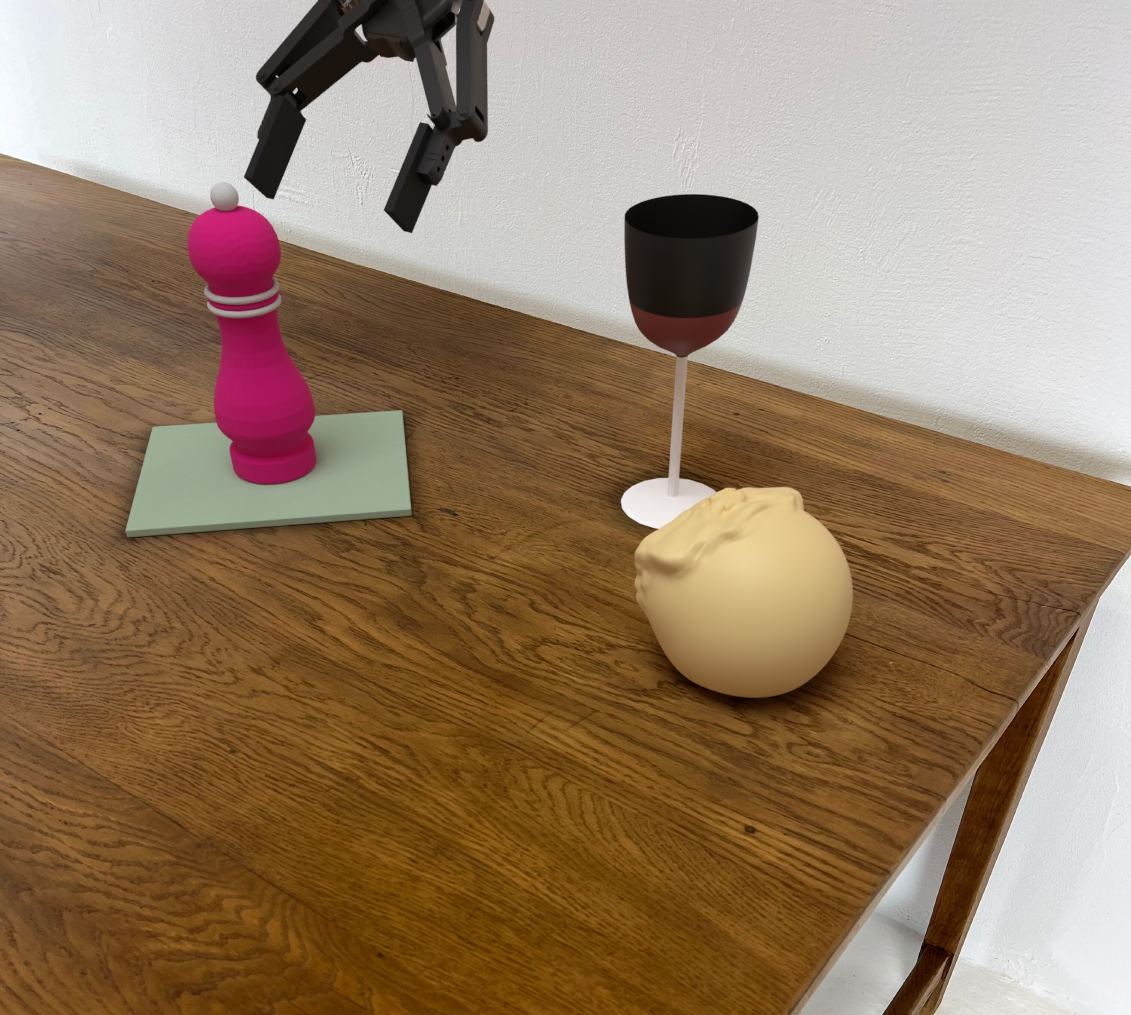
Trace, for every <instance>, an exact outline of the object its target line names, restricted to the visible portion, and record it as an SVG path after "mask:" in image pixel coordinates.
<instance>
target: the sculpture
mask: <svg viewBox="0 0 1131 1015" xmlns="http://www.w3.org/2000/svg"><path fill="white" fill-rule="evenodd" d="M633 557H634V558H633V559H634V567H635V571H636V576H635V579H634V583H633V585H634V589H635V591H636V593H635V594H636V595H635V600H636V603H637V604H638V606H639V608H640V609H641V610H642V611H643V613H644V614H645V616H646V617H647V620H648V622H649V625H650V627H651V629H652V632H653V634H654V636H655V637H656V640H657V642H658V644H659V646H660V647H661V649H662V651H663V653H664V655H665V656H666V658H667V659H668V660H669V662H670V663H671V664H672V666H674V667H675V669H676V670H677V671H678V672H679V673H680V674H681V675H682V676H684V677H685V678H686V679H688V680H689V681H690V682H692V683H694V684H696V685H698V686H700V687H701V688H702V687H703V688H705V689H707V690H710V691H713V692H716V693H720V694H724V695H728V696H731V697H732V696H734V697H739V698H750V699H751V698H755V699H756V698H758V699H759V698H770V697H776V696H779V695H783V694H787V693H789V692H792V691H794V690H796V689H799V688H800V687H801V686H804V685H805V684H806V683H807V682H809V681H810V680H811V679H813V678H814V677H815V676H816V675H818V673H820V671H821V670H822V669H823V668H824V667H825V666H826V665H827V664H828V663H829V662H830V660H831V659H832V657H833V656H834V655H835V653H836V651H837V650H838V648H839V647H840V645H841V643H842V641H843V639H844V637H845V634H846V632H847V629H848V626H849V623H850V621H851V616H852V611H853V602H854V587H853V579H852V573H851V569H850V566H849V563H848V560H847V557H846V555H845V553H844V550H843V549H842V547H841V546H840V544H839V542H838V540H837V539H836V538H835V537H834V535H833V534H832V533H831V532H830V530H829V529H828V528H827V527H826V526H825V525H824V524H823V523H821V522H820V521H819V520H818V519H817V518H816V517H814V516H812V515H811V514H810V513H808V512H806V511H805V507H804V499H803V496H802V494H801V492H800V491H798V490H797V489H794V488H792V487H788V486H776V487H751V486H749V487H748V486H747V487H742V488H739V489H736V488H734V487H725V488H723V489H720V490H719V491H716V493H715V494H713V495H711V496H710V497H709V498H706V499H703V500H701V501H700V502H699V503H696V504H695V505H693V506H692V507H691V508H689V509H688V510H685V511H683V512H682V513H681V514H679V515H678V516H677V517H676V518H675V519H674V520H672V521H671V522H669V523H668V524H666V525H664V526H663V527H661V528H659V529H656V530H654V531H652V532H651V533H649V534H648V535H647V536H645V537H644V538H643V539H642V540H641V541H640V543H639V545H638V546H637V548H636V549H635V551H634V556H633Z"/></svg>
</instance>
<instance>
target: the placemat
mask: <svg viewBox="0 0 1131 1015" xmlns="http://www.w3.org/2000/svg"><path fill="white" fill-rule="evenodd" d="M308 433H309V434H310V435H311V436H312V438H313V440H314V446H315V452H316V459H317V460H316V464H315V466H314V468H313V469H312V470H311V471H310V472H309V473H308V474H306V475H304V476H303V477H301V478H298V479H296V480H293V481H289V482H285V483H279V484H256V483H252V482H248V481H246V480H244V479H242V478H240V477H239V476H238V475H237V474H236V473H235V472H234V470H233V465H232V461H231V456H230V451H229V448H230V445H231V443H232V442H233V441H232V440H230V439H229V438H227V437H226V436H225V435H224V434H223V433H222V432H221V430H220V429H219V428H218V425H217V423H216V422H203V423H202V422H201V423H189V424H187V423H186V424H175V425H174V424H173V425H158V426H152V428H151V432H150V436H149V439H148V443H147V448H146V451H145V455H144V458H143V463H142V466H141V470H140V472H139V473H140V475H139V478H138V481H137V484H136V489H135V493H134V497H133V500H132V504H131V508H130V512H129V516H128V519H127V523H126V526H125V531H124V532H125V534H126V537H127V538H139V537H153V536H165V535H166V536H167V535H180V534H193V533H202V532H204V533H206V532H218V531H230V530H246V529H258V528H269V527H271V528H272V527H282V526H296V525H310V524H311V525H312V524H321V523H322V524H323V523H335V522H336V523H337V522H347V521H362V520H374V519H388V518H400V517H401V518H402V517H411V516H413V512H412V503H411V502H412V501H411V489H410V479H409V478H410V477H409V467H408V458H407V457H408V456H407V446H406V435H405V425H404V413H403V410H402V409H399V410H385V411H368V412H354V413H353V412H352V413H338V414H324V415H322V414H321V415H315V419H314V422H313V424H312V426H311V428H310V429H309V430H308Z"/></svg>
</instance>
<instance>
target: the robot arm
mask: <svg viewBox="0 0 1131 1015" xmlns="http://www.w3.org/2000/svg"><path fill="white" fill-rule="evenodd" d="M494 24H495V15H494V13H493V12H492V10H491V9H490V7H489V6H488V4H487V2H486V1H485V0H317V1H316V2H315V3H314V4H313V5H312V7H311V8H310V9H309V10H308V11H307V13H306V14H305V15H304V16H303V18H301V20H300V21H299V22H298V23H297V24H296V26H295V27H294V28H293V29H292V31H291V32H290V33H289V34H288V35H287V36H286V38H285V39H284V40H283V41H282V42H281V43H280V45H279V46H278V47H276V50H275V51H274V52H273V53H272V54H271V55H270V57H268V58H267V60H266V61H265V62H264V63H263V65H261V67H260V68H259V69H258V71H257V72H256V75H255V80H256V82H257V83H258V85H260V86H261V87H262V88H263V90H265V91H266V92H267V94H268V95H269V96H270V99H269V103H268V105H267V107H266V110H265V113H264V115H263V118H262V119H261V121H260V125H259V127H258V130H257V135H256V138H257V139H258V141H257V143H256V146H255V148H254V151H253V153H252V156H251V158H250V161H249V163H248V166H247V167H246V170H245V172H244V175H243V178H244V180H246V181H247V182H248V183H249V184H250V185H252V186H253V187H254V188H255V189H256V190H257V191H258V192H259V193H260V194H262V196H264V197H265V198H266V199H270V200H272V201H273V200H274V199H275V197H276V195H277V193H278V190H279V188H280V185H281V183H282V181H283V178H284V176H285V173H286V171H287V168H288V166H289V163H290V162H291V159H292V156H293V153H294V151H295V149H296V147H297V144H298V142H299V139H300V136H301V134H302V131H303V129H304V126H305V125H306V122H307V118H306V117H305V116H304V115H303V112H302V111H303V110H304V109H305V108H307V107H308V106H310V104H311V103H313V102H314V101H315V100H316V99H318V98H319V97H320V96H322V95H323V94H324V93H325V92H326V91H328V90H329V89H330V88H331V87H332V86H334V85H335V84H336V83H338V81H340V80H341V79H343V78H344V77H345V76H346V75H347V74H348V73H349V72H351V71H352V70H353V69H355V68H356V67H357V66H358V65H359V64H362V63H365V64H367V63H371V62H372V61H374V60H375V59H376V58H377V57H379V56H380V58H387V59H391V58H392V59H393V58H400V59H401V60H403V61H405V62H411V63H414V62H415V60H416V64H417V69H418V72H419V75H420V80H421V83H422V87H423V92H424V95H425V99H426V103H427V106H428V110H429V113H427V114H426V116H427V118H428V119H429V120H430V122H431V123H432V124H433V127H431V125H430V124H429V123H428V122H422V121H420V122H419V124H418V125H417V128H416V130H415V133H414V136H413V138H412V141H411V142H410V145H409V147H408V150H407V152H406V155H405V157H404V159H403V162H402V165H401V167H400V169H399V172H398V174H397V177H396V179H395V182H394V184H393V186H392V188H391V191H390V193H389V195H388V198H387V201H386V203H385V206H384V208H383V211H384V213H386V214H387V216H389V218H391V220H392V221H393V222H394V223H395V224H396V225H397V226H398V227H399V228H400V229H401V230H402V231H403V232H405V233H408V234H409V233H410V234H413V232H414V229H415V227H416V225H417V222H418V220H419V217H420V215H421V212H422V210H423V208H424V205H425V203H426V201H427V198H428V195H429V193H430V192H431V189H432V186H433V187H438V186H439V183H440V182H441V181H442V180H443V177H444V175H445V172H446V170H447V167H448V165H449V163H450V161H451V158H452V156H453V154H454V151H455V149H456V147H459V145H462V143H463V141H465V140H467V141H468V140H471V139H472V140H473V141H474V142H476V143H482V142H483V141H484V140H485V139H486V138H487V136H488V133H489V109H488V108H489V103H488V102H489V101H488V100H489V99H488V96H489V94H488V93H489V92H488V91H489V90H488V89H489V88H488V42H489V39H490V36H491V32H492V31H493V30H492V29H493V26H494ZM360 26H361V29H362V30H361V31H362V34H363V37H364V38H365V40H364V39H363V38H362V37H361V35H360V34H359V32H357V30H356V29H357V28H359V27H360ZM454 28H455V95H456V96H454V93H453V92H454V91H453V89H452V85H451V81H450V79H449V78H450V77H449V74H448V70H447V66H448V61H447V58H446V55H445V50H444V47H443V43H442V38H443V37H444V36H446V35H447V34H448V33H449V32H451V30H452V29H454ZM296 89H297V91H296ZM295 91H296V92H295ZM294 92H295V93H294Z"/></svg>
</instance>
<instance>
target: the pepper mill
mask: <svg viewBox="0 0 1131 1015" xmlns="http://www.w3.org/2000/svg"><path fill="white" fill-rule="evenodd" d="M209 196H210V201H211V204H212V205H213V207H212V208H209V209H207V210H205V211H204V212H202V213H201V214H199V215H198V216H197V217H196V218H195V220H194V221H193V222H192V224H191V226H190V228H189V230H188V235H187V253H188V257H189V261H190V264H191V266H192V268H193V269H194V271H195V272H196V273H197V275H198V276H199V277H200V278H201V279H202V280H204V281H205V282H206V283H207V284H206V285H205V286H204V289H203V294H204V295H205V297H206V298H207V301H206V307H207V308H208V311H210V313H212V314H213V315H215V318H216V320H217V324H218V327H219V333H220V341H221V351H220V352H221V353H220V354H221V356H220V362H219V368H218V373H217V377H216V382H215V387H214V393H213V394H214V395H213V412H214V418H215V423H217V425H218V428H219V429H220V430H221V432H222V433H223V434H224V435H225V436H226V437H227V438H229V439H230V440H232V441H233V442H232V443H231V445H230V448H229V451H230V456H231V461H232V465H233V470H234V472H235V473H236V474H237V475H238V476H239V477H240V478H242V479H244V480H246V481H248V482H252V483H256V484H279V483H285V482H289V481H293V480H296V479H298V478H301V477H303V476H304V475H306V474H308V473H309V472H310V471H311V470H312V469H313V468H314V466H315V464H316V460H317V459H316V452H315V446H314V440H313V438H312V436H311V435H310V434H309V433H308V430H309V429H310V428H311V426H312V424H313V422H314V419H315V416H316V405H315V401H314V397H313V394H312V391H311V389H310V387H309V385H308V383H307V380H306V379H305V377H304V376H303V374H302V372H301V371H300V370H299V368H298V367H297V365H296V364H295V362H294V361H293V359H292V357H291V355H290V354H289V352H288V350H287V347H286V345H285V343H284V340H283V336H282V332H281V329H280V328H281V327H280V325H279V319H278V307H280V305H281V304H282V296H281V294H280V292H279V290H280V283H279V281H278V279H276V278H275V277H274V275H275V273H276V272H277V270H278V269H279V266H280V264H281V259H282V251H281V244H280V241H279V240H280V239H279V237H278V234H277V232H276V230H275V228H274V227H273V225H272V223H271V222H270V221H269V220H268V218H266V217H265V216H264V215H263V214H261V213H260V212H259V211H257V210H255V209H254V208H253V209H252V208H250V207H247V206H243V205H239V201H240V198H239V193H238V191H237V189H236V188H235V187H234V185H232V183H229V182H227V181H220V182H217V183H215V184H214V185H213V186H212V188H211V189H210V194H209Z"/></svg>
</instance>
